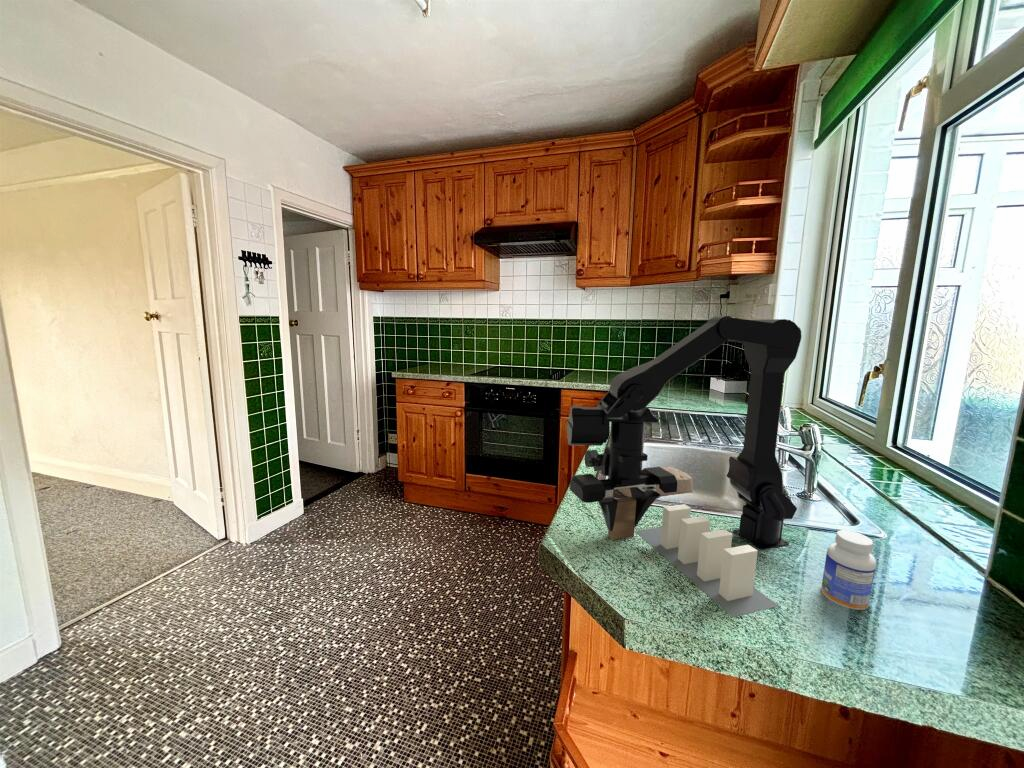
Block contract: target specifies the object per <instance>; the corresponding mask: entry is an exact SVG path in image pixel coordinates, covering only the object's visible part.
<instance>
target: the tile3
mask: <svg viewBox="0 0 1024 768" xmlns="http://www.w3.org/2000/svg"><path fill="white" fill-rule="evenodd" d="M710 528H711V520H710V519H709V518H707V517H706V516H703V515H701V516H694V517H690V518H686V519H681V524H680V535H679V547H678V560H680V561H681V562H682V563H683V564H688V563H694V562H698V557H699V546H700V536H701V533H704V532H710Z"/></svg>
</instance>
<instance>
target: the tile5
mask: <svg viewBox="0 0 1024 768" xmlns="http://www.w3.org/2000/svg"><path fill="white" fill-rule="evenodd" d="M757 559H758V549H756V548H754V547H753V546H751V545H749V544H744V545H739V546H731V548H727V549H724V550H723V559H722V569H721V578H720V588H719V594H720V595H721V596H722V597H723V598H725V599H726V600H727V601H730V600H734V599H739V598H743V597H748V596H752V594H753V587H754V585H755V584H754V583H755V577H756V576H755V575H756V568H757Z"/></svg>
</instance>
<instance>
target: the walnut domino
mask: <svg viewBox="0 0 1024 768" xmlns="http://www.w3.org/2000/svg"><path fill="white" fill-rule="evenodd" d="M615 499H616V500H617V501H618V504H617V510H616V516H615V523H614V527H613V530H612V531H610V530H609V529H608V528H607V536H608V537H609V538H610V539H611V540H612V541H614V540H621V539H622V540H623V539H627V538H628V539H629V538H634V537H635V529H636V527H635V514H636V500H635V499H634V498H632V497H627V496H625V497H619V498H615Z"/></svg>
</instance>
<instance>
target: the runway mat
mask: <svg viewBox="0 0 1024 768" xmlns="http://www.w3.org/2000/svg"><path fill="white" fill-rule="evenodd" d="M661 531H662V526H659V527H651V528H647V529H646V528H645V529H640V530H638V529H637V530H634V533H636V534H637V535H639V536H640V537H641V539H643V540H644V541H645V542H647V544H649V545H650V546H651V547H652V548H654V549H655V550H656V552H657V553H659V554H660V555H661V556H662V557H664V558H665V560H667V561H668V562H669V563H670V564H671V565H672V566H674V567H675V568H676V570H678V571H679V572H681V574H682V575H684V576H685V577H686V578H687V579H688V580H689V581H691V582H692V583H693V584H694V585H695V586H696V587H697V588H699V590H701V591H702V592H703V593H705V595H706V596H708V597H709V598H710V599H711V600H712V601H714V602H715V603H716V605H718V606H719V607H720V608H721V609H722V610H724V611H725V612H726V613H727V614H728V615H729V616H730V617H732V618H734V617H738V616H743V615H749V614H751V613H755V612H760V611H764V610H768V609H773V608H777V607H780V605H778V604H777V603H776V602H775V601H773V600H772V599H770V598H769V597H768V596H766V595H765V594H764V593H762V592H761V591H759V590H758V589H757V588H756V587H754V586H753V594H752V596H748V597H743V598H739V599H734V600H730V601H727V600H726V599H725V598H723V597H722V596H721V595H720V594H719V588H720V578H719V579H714V580H709V581H703V580H702V579H701V578H700V577H699V576H697V568H698V562H694V563H688V564H683V563H682V562H681V561H680V560H678V547H677V548H671V549H665V548H664V547H663V546H662V545H661Z"/></svg>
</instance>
